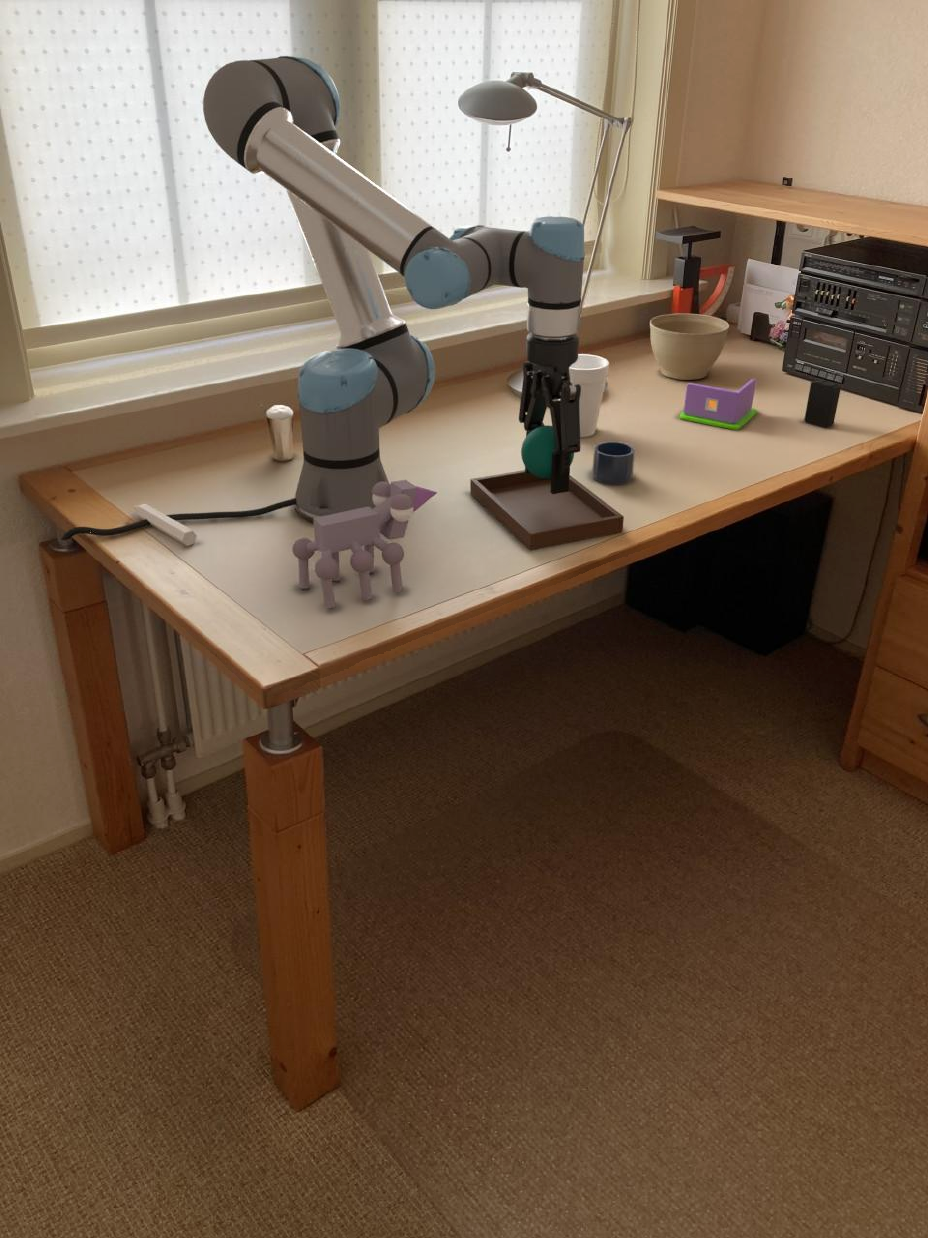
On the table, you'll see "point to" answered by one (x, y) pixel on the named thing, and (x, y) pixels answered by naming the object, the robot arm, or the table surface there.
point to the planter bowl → (687, 343)
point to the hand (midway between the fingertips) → (546, 481)
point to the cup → (613, 463)
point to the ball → (539, 451)
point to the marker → (166, 524)
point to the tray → (545, 509)
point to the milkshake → (281, 431)
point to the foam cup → (589, 389)
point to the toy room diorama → (719, 405)
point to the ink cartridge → (822, 403)
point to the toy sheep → (361, 537)
